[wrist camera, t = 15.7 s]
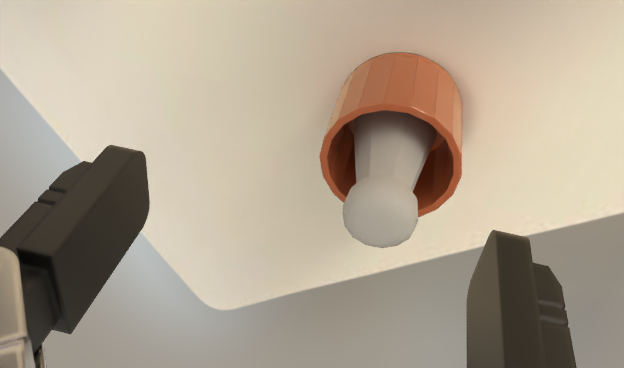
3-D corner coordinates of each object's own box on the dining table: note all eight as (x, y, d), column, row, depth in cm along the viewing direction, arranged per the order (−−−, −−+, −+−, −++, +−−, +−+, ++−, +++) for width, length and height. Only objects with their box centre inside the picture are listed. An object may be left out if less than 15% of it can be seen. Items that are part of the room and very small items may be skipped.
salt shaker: (372, 152, 45) (345, 270, 34) (347, 88, 42) (310, 196, 32) (447, 136, 42) (441, 257, 32) (426, 67, 40) (413, 176, 29)
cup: (401, 26, 39) (390, 74, 33) (488, 114, 41) (492, 173, 35) (315, 104, 44) (292, 159, 38) (397, 178, 46) (388, 240, 41)
